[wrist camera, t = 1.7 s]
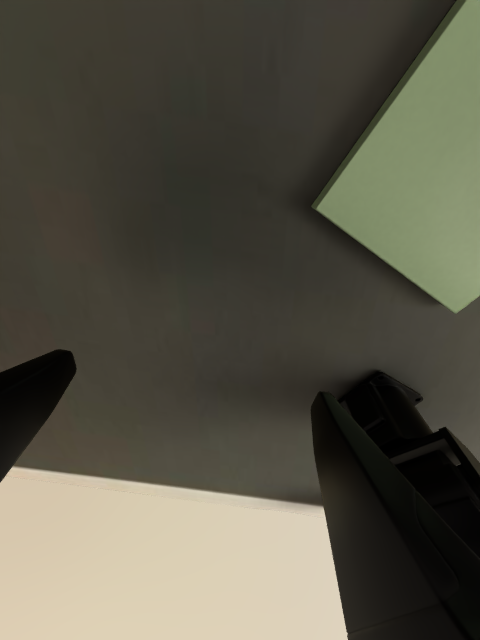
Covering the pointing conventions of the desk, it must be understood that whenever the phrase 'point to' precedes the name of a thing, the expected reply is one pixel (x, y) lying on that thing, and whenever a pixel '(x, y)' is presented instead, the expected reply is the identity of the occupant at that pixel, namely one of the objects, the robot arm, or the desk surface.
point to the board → (422, 168)
